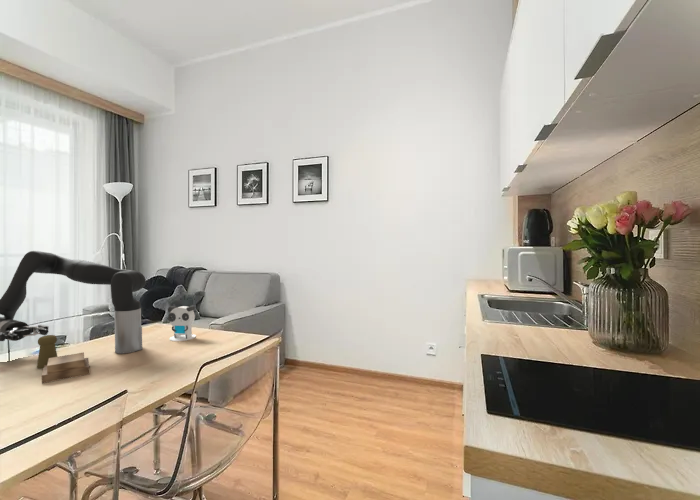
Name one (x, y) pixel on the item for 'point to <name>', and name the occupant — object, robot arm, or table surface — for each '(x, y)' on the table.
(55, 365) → the walnut stand
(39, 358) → the cork
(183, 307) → the panda figurine
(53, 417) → the table surface
